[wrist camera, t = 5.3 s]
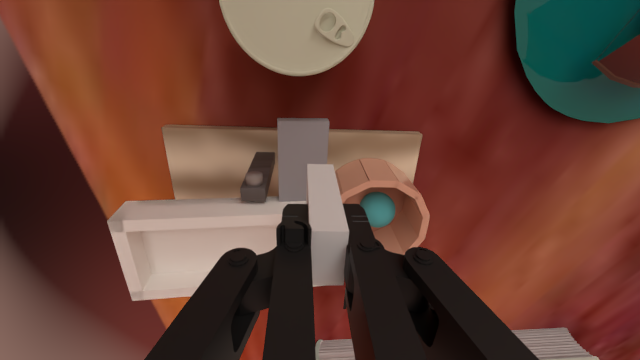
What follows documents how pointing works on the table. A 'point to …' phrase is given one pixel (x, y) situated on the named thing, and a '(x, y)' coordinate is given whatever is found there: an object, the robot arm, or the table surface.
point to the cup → (392, 181)
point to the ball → (378, 209)
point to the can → (297, 31)
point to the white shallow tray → (211, 221)
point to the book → (546, 344)
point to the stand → (265, 158)
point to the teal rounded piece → (582, 56)
